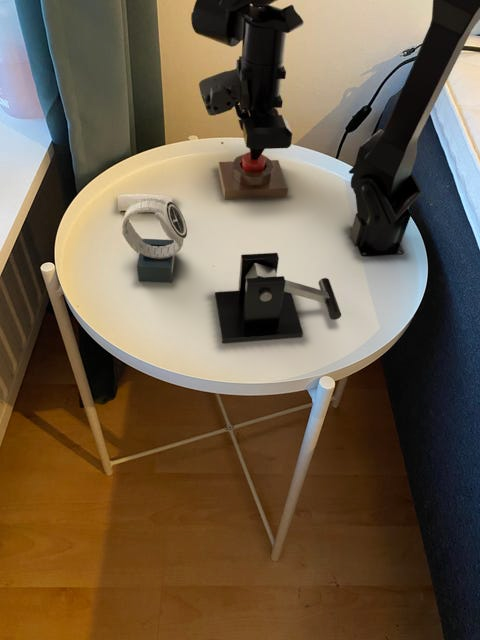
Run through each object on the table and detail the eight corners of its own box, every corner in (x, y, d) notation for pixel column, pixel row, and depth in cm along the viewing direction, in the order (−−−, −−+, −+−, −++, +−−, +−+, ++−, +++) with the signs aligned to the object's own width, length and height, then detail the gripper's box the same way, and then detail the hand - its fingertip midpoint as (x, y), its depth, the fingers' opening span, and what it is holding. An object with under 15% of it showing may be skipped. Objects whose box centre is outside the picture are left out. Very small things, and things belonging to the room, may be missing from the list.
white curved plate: (122, 198, 85) (120, 182, 83) (174, 200, 85) (173, 184, 83) (119, 213, 82) (116, 196, 80) (172, 215, 83) (171, 199, 80)
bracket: (288, 293, 73) (297, 242, 67) (301, 339, 68) (312, 289, 61) (214, 298, 72) (215, 247, 65) (221, 345, 67) (224, 295, 60)
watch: (186, 285, 73) (184, 219, 65) (125, 283, 73) (116, 216, 65) (189, 257, 77) (187, 191, 69) (131, 254, 77) (123, 188, 68)
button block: (277, 168, 93) (279, 150, 90) (286, 197, 87) (289, 178, 85) (218, 170, 91) (219, 152, 89) (224, 199, 86) (225, 180, 83)
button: (262, 161, 89) (263, 151, 87) (266, 173, 86) (267, 164, 85) (240, 161, 88) (241, 152, 87) (243, 174, 86) (244, 164, 84)
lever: (323, 289, 72) (333, 276, 71) (334, 323, 68) (346, 311, 67) (242, 265, 67) (252, 251, 65) (250, 301, 63) (260, 287, 61)
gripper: (196, 28, 79) (197, 128, 91) (210, 90, 67) (209, 196, 79) (272, 28, 81) (263, 126, 92) (299, 88, 68) (285, 193, 80)
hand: (254, 158), depth 86 cm, fingers closed, pressing on button
